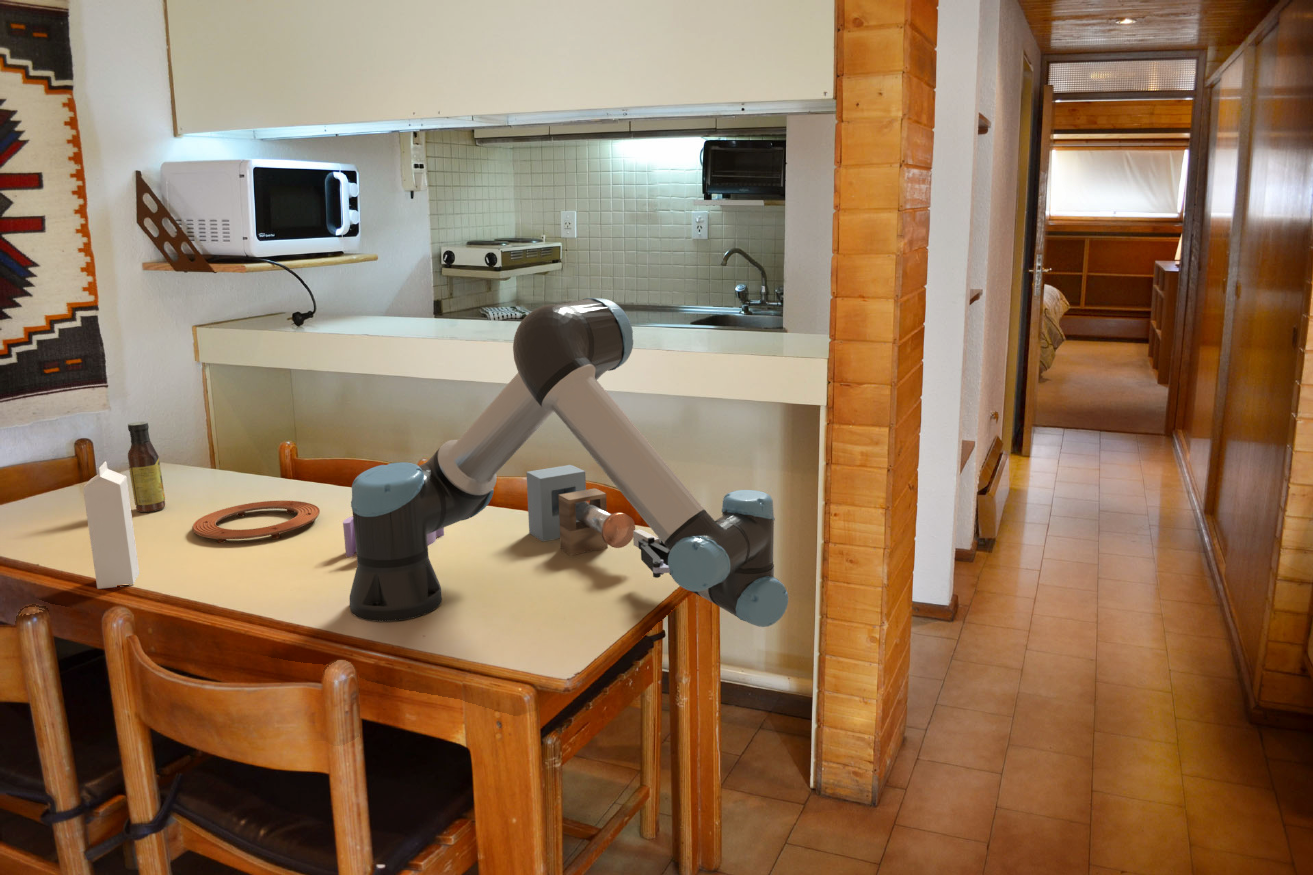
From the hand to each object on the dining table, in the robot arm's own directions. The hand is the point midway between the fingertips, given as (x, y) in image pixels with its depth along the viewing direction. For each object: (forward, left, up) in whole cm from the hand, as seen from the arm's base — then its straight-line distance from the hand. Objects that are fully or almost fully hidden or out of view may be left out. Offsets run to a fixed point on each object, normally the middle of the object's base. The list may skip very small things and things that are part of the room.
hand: (637, 537), depth 184 cm
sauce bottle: (-69, +100, -8) cm, 121 cm away
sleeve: (0, +21, -8) cm, 22 cm away
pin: (0, +15, -4) cm, 15 cm away
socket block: (0, +32, -8) cm, 33 cm away
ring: (-51, +73, -9) cm, 89 cm away
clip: (-31, +44, -8) cm, 54 cm away
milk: (-79, +52, -8) cm, 95 cm away
